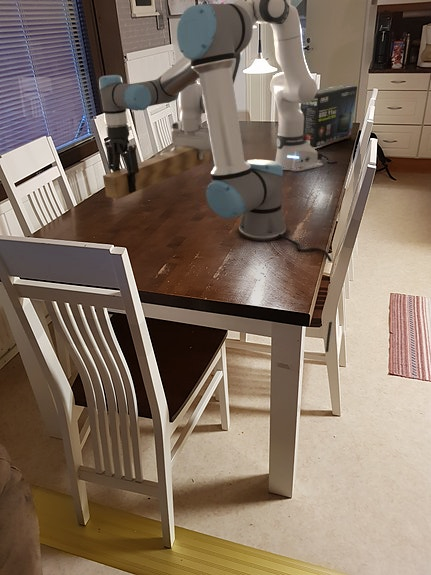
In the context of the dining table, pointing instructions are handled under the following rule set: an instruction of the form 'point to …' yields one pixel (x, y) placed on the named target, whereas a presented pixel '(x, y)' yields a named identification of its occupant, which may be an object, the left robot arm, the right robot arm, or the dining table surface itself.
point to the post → (154, 171)
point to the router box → (329, 114)
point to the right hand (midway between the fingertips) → (193, 158)
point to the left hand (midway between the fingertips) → (126, 190)
